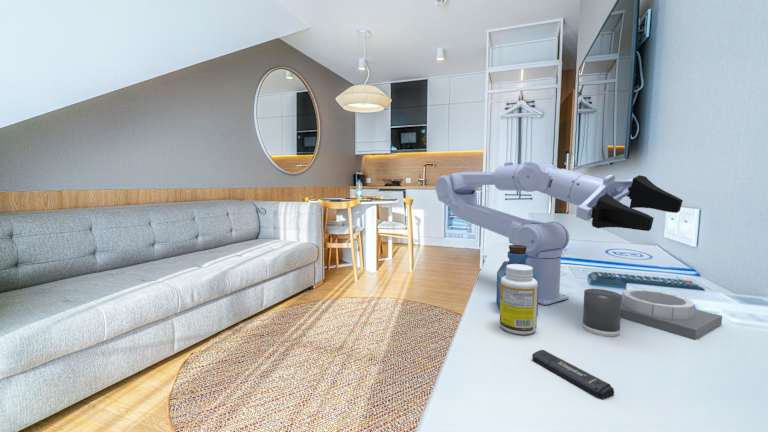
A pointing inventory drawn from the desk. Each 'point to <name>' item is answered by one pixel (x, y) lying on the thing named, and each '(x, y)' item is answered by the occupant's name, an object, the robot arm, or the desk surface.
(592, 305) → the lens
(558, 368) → the usb stick
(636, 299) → the ring holder base
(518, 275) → the supplement bottle
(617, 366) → the desk surface
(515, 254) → the perfume bottle
